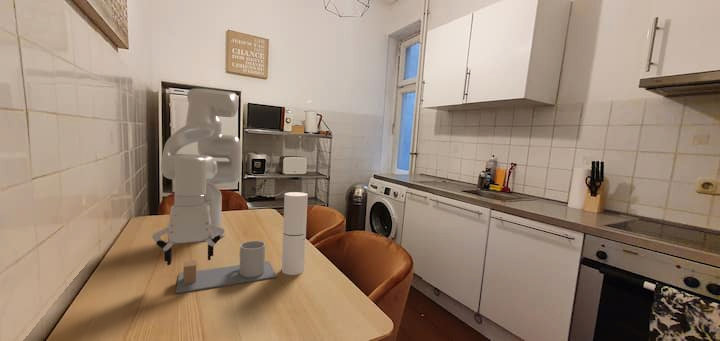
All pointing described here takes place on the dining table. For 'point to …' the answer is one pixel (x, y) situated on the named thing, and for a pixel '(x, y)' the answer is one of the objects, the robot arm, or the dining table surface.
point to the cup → (252, 259)
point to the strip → (215, 277)
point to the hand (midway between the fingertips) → (189, 260)
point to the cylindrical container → (294, 233)
